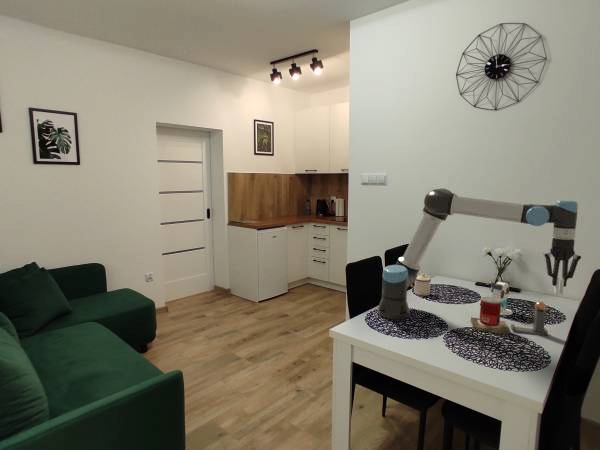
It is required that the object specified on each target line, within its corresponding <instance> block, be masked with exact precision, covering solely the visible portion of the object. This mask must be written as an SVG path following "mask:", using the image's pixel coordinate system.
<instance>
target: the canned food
mask: <svg viewBox="0 0 600 450" xmlns="http://www.w3.org/2000/svg"><path fill="white" fill-rule="evenodd" d="M500 311H501V300H499V299H497V298H493V296H491V297H490V296H482V297H481V299H480V308H479V312H480V313H479V318H480V322H481V323H482V324H484V325H488V326H498V325H499V323H500V321H501V315H500Z"/></svg>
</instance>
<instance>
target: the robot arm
mask: <svg viewBox="0 0 600 450" xmlns="http://www.w3.org/2000/svg"><path fill="white" fill-rule="evenodd" d="M423 204H424V207H423V209H422V213H423V216H422V217H421V220H420V222H419V224H418V226H417V227H416V230H415V232H414V234H413V236H412V238H411V239H410V241H409V243H408V246H407V248H406V250H405V251H404V254H403V255H402V256H400V257H398V258H397V261H396V263H395V264H391V265H387V266H385V267H384V268H383V270H382V282H381V283H382V285H381V300H380V301H379V302H380V303H379V305H378V307H377V314H378V315H379V316H380V317H381V318H385V319H389V320H394V321H395V320H396V321H400V320H401V321H402V320H407V319H409V317H411V316H410V313H411V312H410V307H409V304H408V300H407V296H408V288H409V287H411V284H412V285H413V284H415V280H416V278H417V276H418V274H419V271H420V269H421V265H420V263H421V261H422V259H423V257H424V255H425V253H426V252H427V250H428V248H429V246H430V245H431V242H432V240H433V238H434V236H435V234H436V232H437V230H438V228H439V226H440V225H441V223H442V222H445V221H446V220H447V218H448V216H453V215H455V214H456V215H457V214H458V215H463V216H470V217H478V218H484V219H493V220H498V221H499V220H500V221H506V222H507V221H508V222H513V223H522V224H524V225H525V224H526V225H531V226H533V227H541V226H544V225H545V224H546V223H547V224H553V230H552V240H551V241H552V242H551V247H550V249H549V251H547V252H543V257H544V259H545V265H546V272H547V275H548V276H549V277H551V278H552V281H551V284H552V286H553V287H554V288H553V294H556V295H563V293H564V287H565V288H566V287H567V281H568V279H573V277H574V274H575V271H576V269H577V266H578V263H579V261H580V260H581V259H582V256H581V255H579V254H577V253H576V252H575V243H576V242H575V238H576V228H577V221H578V208H579V207H578V206H579V203H578V202H577V201H573V200H556V201H555V204H551V205H550V204H531V203H530V204H522V203H516V202H515V203H514V202H507V201H497V200H491V199H483V198H473V197H465V196H458V194H457V193H453V192H451V190H449V189H447V188H436V189H432V190H430V191H429V192H428V193H427V194H426V195H425V197H424V199H423ZM551 257H553V258H554V264H553V269H552V261H551ZM571 258H572V261H571V263H570V266H569V260H570V259H571ZM561 261H562V269H561V270H562V271H561V277H558V276H559V269H560V263H561Z"/></svg>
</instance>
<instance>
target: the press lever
mask: <svg viewBox="0 0 600 450" xmlns="http://www.w3.org/2000/svg"><path fill="white" fill-rule="evenodd" d="M546 308H547V305H546V303H544V301H537V302H535V304H534V313H533V324H532V329H534V330H535V332H542V333H544V328H545V322H546V311H545V310H546Z"/></svg>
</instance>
